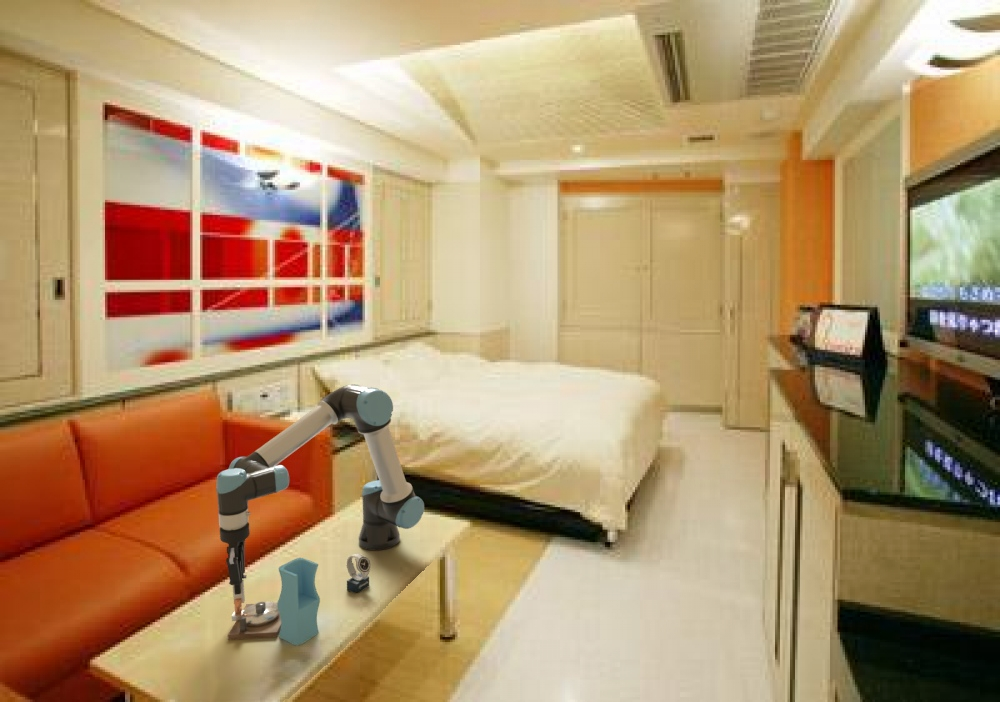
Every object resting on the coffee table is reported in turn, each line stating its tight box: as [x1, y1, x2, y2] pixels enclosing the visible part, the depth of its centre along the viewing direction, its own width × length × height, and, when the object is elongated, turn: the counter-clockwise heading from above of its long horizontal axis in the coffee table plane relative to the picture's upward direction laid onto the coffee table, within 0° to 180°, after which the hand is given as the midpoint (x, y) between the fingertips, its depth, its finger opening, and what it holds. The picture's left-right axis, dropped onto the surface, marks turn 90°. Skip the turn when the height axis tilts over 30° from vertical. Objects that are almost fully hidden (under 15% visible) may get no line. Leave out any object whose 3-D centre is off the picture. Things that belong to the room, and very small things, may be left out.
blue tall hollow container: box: [276, 557, 321, 646], centre depth 156 cm, size 8×8×20 cm
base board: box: [227, 603, 281, 641], centre depth 163 cm, size 15×13×5 cm
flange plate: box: [231, 598, 280, 626], centre depth 162 cm, size 12×10×6 cm
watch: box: [346, 552, 372, 595], centre depth 181 cm, size 6×8×11 cm
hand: (239, 602), depth 162 cm, fingers closed
